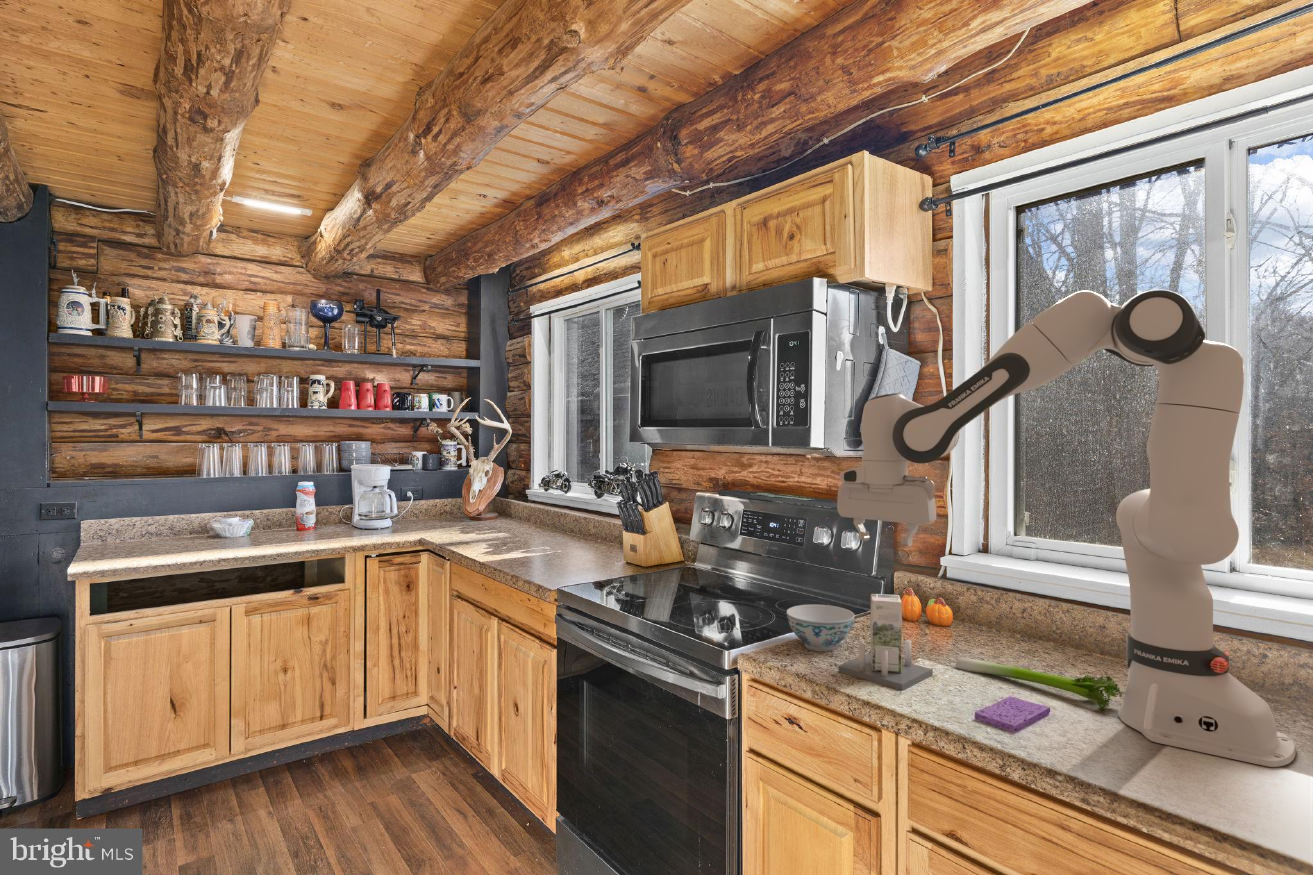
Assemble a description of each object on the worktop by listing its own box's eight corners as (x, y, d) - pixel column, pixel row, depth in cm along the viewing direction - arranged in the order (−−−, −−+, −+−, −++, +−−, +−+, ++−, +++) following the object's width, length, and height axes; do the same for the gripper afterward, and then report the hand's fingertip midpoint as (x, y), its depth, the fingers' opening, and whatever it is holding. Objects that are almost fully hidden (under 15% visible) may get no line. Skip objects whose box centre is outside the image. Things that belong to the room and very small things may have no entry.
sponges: (973, 722, 119) (973, 711, 119) (1010, 704, 127) (1010, 693, 127) (1015, 736, 114) (1015, 725, 114) (1051, 716, 121) (1051, 706, 121)
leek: (969, 672, 147) (1131, 706, 123) (952, 684, 143) (1116, 721, 119) (965, 644, 147) (1126, 672, 123) (947, 655, 143) (1111, 686, 119)
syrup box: (899, 664, 143) (899, 593, 143) (902, 674, 137) (902, 600, 137) (870, 662, 145) (870, 592, 144) (871, 671, 139) (871, 599, 139)
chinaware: (862, 657, 151) (862, 621, 151) (793, 657, 151) (793, 622, 151) (844, 636, 166) (844, 604, 166) (781, 636, 166) (781, 604, 166)
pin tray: (932, 675, 140) (932, 644, 140) (902, 690, 132) (902, 658, 132) (869, 658, 151) (869, 629, 150) (838, 671, 143) (838, 641, 142)
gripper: (942, 476, 135) (942, 547, 135) (849, 471, 150) (849, 535, 151) (926, 477, 131) (926, 551, 131) (832, 473, 146) (833, 539, 146)
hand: (885, 543), depth 141 cm, fingers open, 8 cm apart
